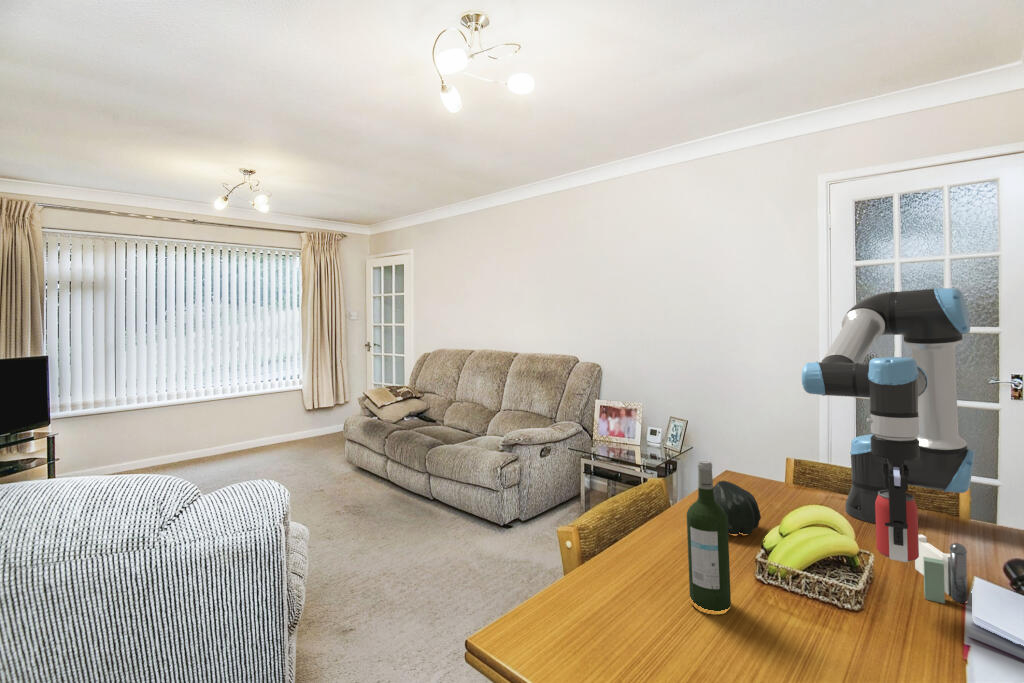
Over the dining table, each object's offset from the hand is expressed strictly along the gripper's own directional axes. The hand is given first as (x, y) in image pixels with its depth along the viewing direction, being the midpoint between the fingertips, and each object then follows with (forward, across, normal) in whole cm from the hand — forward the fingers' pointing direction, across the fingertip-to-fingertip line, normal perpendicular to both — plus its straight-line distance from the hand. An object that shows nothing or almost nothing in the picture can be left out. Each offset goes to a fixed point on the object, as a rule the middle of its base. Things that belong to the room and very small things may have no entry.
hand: (897, 552), depth 95 cm
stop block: (+12, -8, +6) cm, 15 cm away
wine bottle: (+12, +17, -32) cm, 38 cm away
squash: (+12, -23, -36) cm, 44 cm away
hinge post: (+12, -10, +10) cm, 18 cm away
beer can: (+1, 0, 0) cm, 1 cm away
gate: (+12, -17, +7) cm, 21 cm away
